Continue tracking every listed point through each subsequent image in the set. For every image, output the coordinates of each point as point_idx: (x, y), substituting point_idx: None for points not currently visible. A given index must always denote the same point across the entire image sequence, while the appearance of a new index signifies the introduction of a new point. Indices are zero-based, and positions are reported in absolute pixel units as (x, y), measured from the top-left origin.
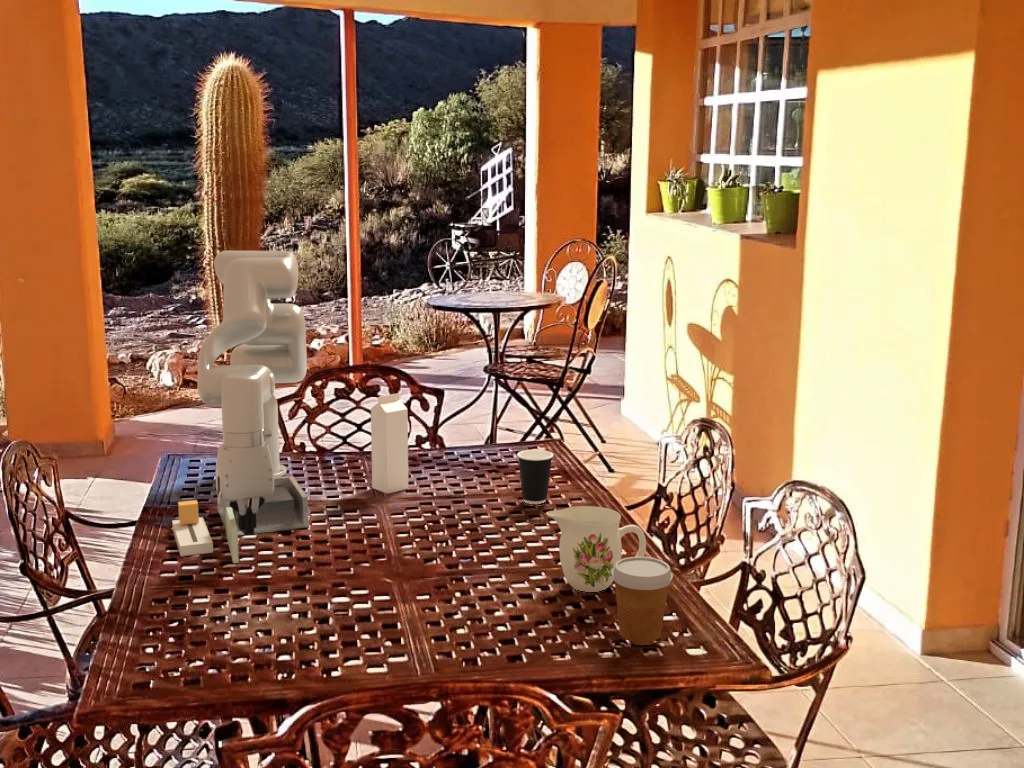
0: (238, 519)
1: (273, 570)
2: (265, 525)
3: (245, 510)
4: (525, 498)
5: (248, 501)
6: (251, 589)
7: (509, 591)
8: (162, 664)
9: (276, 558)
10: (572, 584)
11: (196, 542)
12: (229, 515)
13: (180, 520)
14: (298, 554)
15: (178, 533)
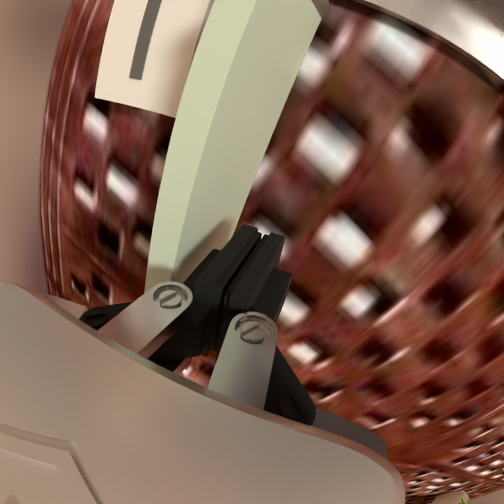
0: (193, 275)
1: (276, 345)
2: (491, 32)
3: (184, 366)
4: None
5: (219, 359)
6: (198, 363)
7: (413, 488)
8: None
9: (333, 302)
10: (433, 501)
11: (135, 87)
12: (162, 203)
13: None
14: (396, 322)
15: None
